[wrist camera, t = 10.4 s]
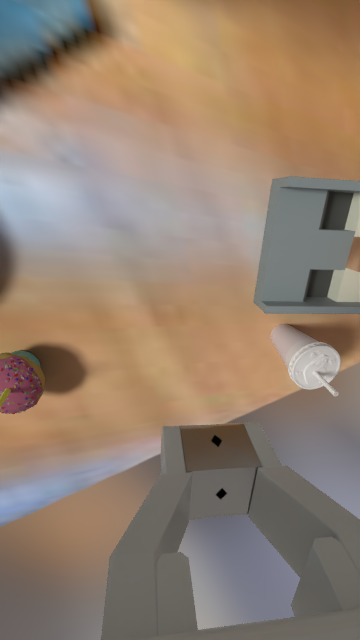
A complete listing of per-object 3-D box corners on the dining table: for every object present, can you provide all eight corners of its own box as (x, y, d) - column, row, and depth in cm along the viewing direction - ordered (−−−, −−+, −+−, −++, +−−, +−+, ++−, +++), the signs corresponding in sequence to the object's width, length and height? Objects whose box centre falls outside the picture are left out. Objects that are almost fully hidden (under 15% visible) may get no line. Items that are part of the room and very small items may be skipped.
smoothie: (254, 345, 44) (299, 405, 31) (274, 309, 42) (331, 357, 29) (288, 357, 46) (344, 419, 33) (309, 323, 44) (378, 374, 31)
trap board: (272, 179, 35) (289, 176, 31) (389, 186, 37) (420, 185, 33) (253, 302, 41) (265, 313, 37) (354, 303, 43) (377, 313, 39)
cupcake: (20, 327, 39) (-30, 377, 28) (67, 367, 42) (39, 426, 31) (-23, 363, 40) (-86, 425, 29) (26, 400, 43) (-15, 467, 32)
